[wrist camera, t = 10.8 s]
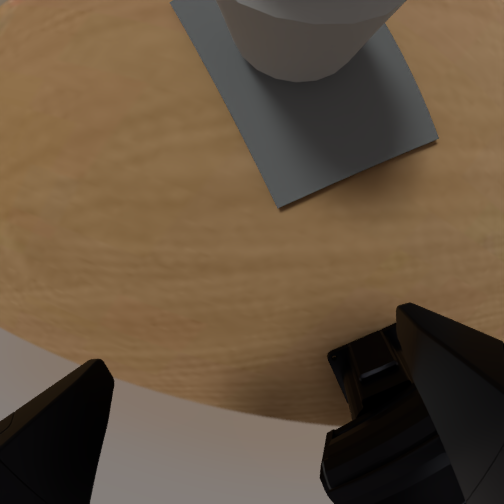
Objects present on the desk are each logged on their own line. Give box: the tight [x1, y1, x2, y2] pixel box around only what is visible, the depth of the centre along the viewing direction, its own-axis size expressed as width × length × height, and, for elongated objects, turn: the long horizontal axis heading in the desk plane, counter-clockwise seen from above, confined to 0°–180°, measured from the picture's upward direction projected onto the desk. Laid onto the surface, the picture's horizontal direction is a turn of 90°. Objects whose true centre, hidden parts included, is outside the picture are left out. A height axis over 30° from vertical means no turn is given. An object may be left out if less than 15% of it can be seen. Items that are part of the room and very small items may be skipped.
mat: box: [170, 0, 439, 208], centre depth 17 cm, size 16×12×1 cm
